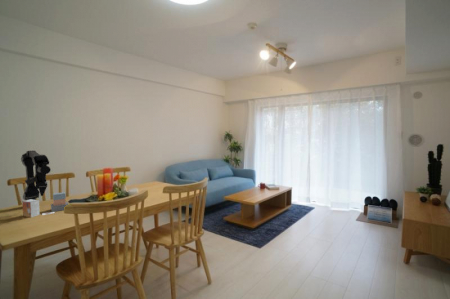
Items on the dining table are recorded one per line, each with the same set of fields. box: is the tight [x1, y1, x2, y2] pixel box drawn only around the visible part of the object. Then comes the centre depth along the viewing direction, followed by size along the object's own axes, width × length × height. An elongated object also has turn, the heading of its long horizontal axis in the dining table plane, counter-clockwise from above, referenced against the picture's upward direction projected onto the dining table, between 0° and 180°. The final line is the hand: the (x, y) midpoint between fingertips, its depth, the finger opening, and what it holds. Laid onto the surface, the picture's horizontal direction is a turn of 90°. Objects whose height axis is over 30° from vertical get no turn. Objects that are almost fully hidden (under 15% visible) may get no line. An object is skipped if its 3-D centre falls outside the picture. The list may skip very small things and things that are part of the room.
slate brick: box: [52, 191, 66, 201], centre depth 169 cm, size 5×7×4 cm
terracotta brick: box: [52, 199, 67, 206], centre depth 169 cm, size 5×7×4 cm
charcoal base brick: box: [50, 201, 69, 212], centre depth 170 cm, size 8×10×4 cm
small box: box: [22, 199, 40, 218], centre depth 157 cm, size 8×6×10 cm
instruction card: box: [41, 211, 55, 216], centre depth 161 cm, size 5×7×1 cm
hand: (41, 194), depth 162 cm, fingers open, 9 cm apart
